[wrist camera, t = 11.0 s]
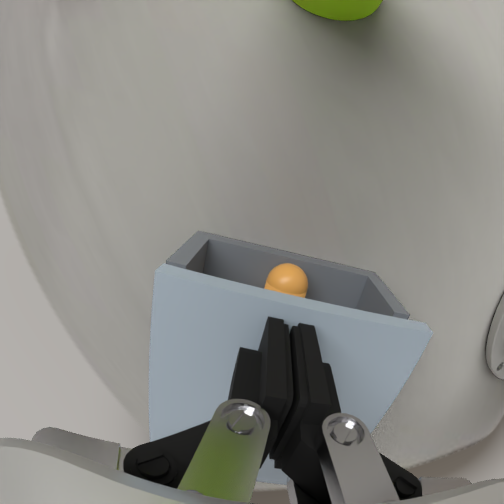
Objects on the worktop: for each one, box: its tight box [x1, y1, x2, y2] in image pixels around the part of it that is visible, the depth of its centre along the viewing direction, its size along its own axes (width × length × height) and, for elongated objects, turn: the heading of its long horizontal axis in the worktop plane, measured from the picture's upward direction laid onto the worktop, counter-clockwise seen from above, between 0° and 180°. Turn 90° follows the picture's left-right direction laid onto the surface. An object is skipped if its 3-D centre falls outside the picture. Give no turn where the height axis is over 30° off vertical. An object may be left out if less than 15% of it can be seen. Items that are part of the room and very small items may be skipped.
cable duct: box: [166, 231, 410, 319], centre depth 15 cm, size 10×12×5 cm
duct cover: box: [149, 263, 433, 485], centre depth 12 cm, size 11×12×1 cm
